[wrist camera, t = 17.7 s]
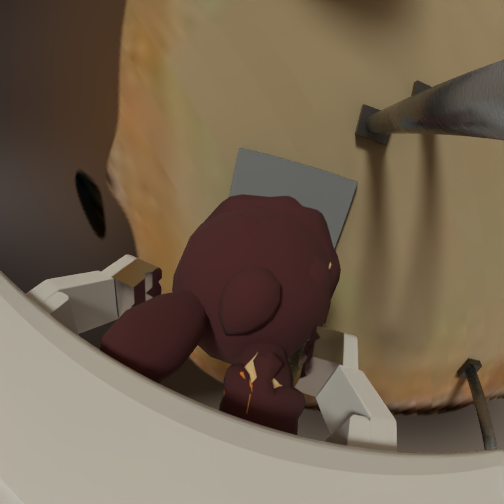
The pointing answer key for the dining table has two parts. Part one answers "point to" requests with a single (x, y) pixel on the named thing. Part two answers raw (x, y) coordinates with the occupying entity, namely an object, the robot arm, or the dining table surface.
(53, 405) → the robot arm
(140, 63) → the dining table surface
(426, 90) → the wire frame
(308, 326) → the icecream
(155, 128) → the dining table surface
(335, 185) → the mat
